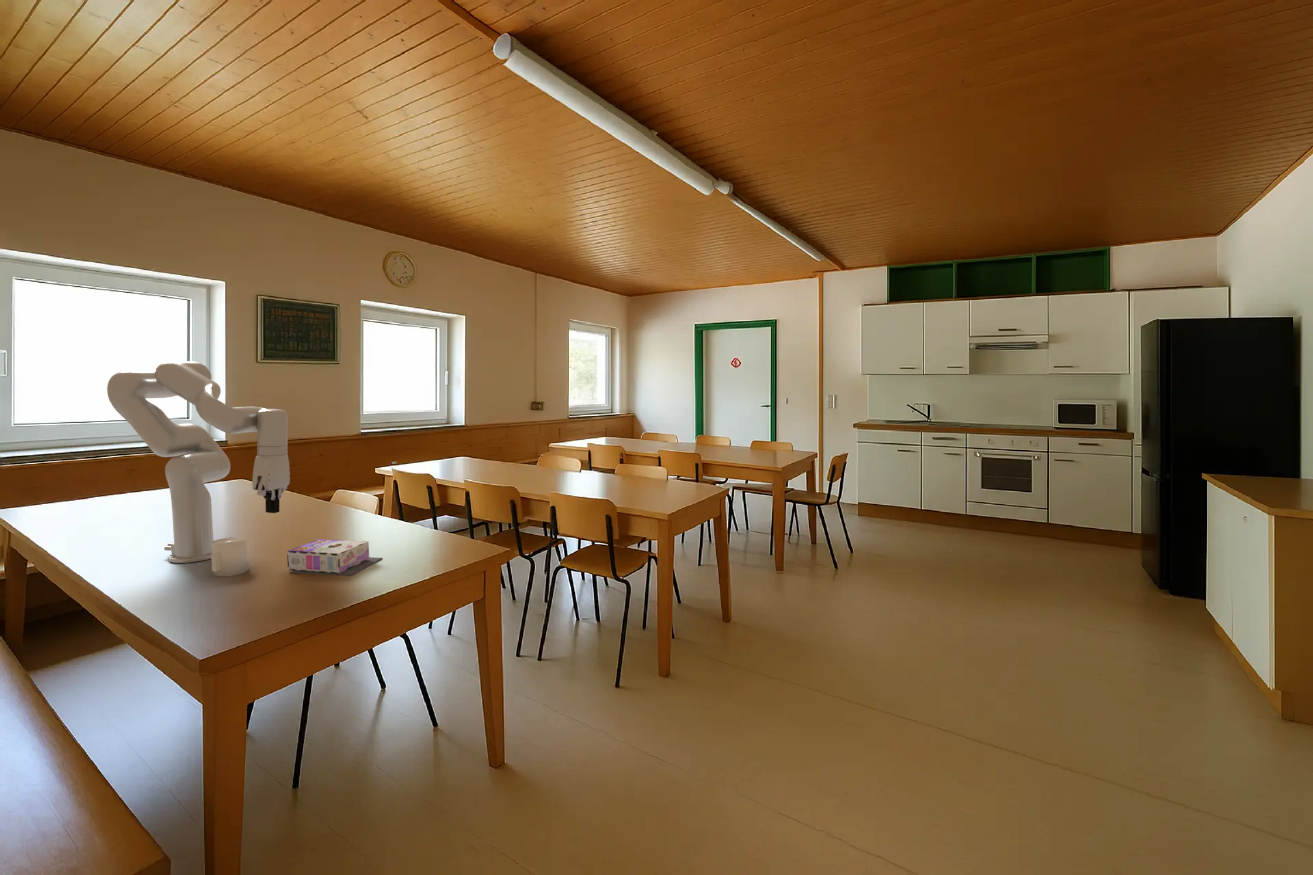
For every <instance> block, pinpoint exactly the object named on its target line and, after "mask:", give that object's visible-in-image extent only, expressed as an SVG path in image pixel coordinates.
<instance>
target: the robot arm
mask: <svg viewBox="0 0 1313 875" xmlns="http://www.w3.org/2000/svg"><path fill="white" fill-rule="evenodd" d="M106 388H107V389H106V392H107V397H108V401H109V402H110V405H111V406H112V407H113V409H114V410H115V411H116V412H117V413H118V414H119V415H120V416H121V417H122V418H123V419H124V420H125V421H126V423H128V424H129V425H130V426H131V427H132V428H133V430H134V431H135V432H136V434H137V435H138V436H139V437H140V438H141V440H143V442H144V443H145V444H146V446H147V447H148V448H149V449H150V450H151V451H152V453H154V454H155V455H156V456H157V457H162V458H169V457H170V458H171V457H172V458H171V459H170V460H168V462H167V463H166V464H165V467H164V474H165V477H166V482H167V485H168V487H169V488H168V489H169V492H170V493H169V494H170V502H171V513H172V515H171V516H172V528H173V529H172V530H173V531H172V532H173V542H168V543H167V544H166V545H165V546H164V548H163V549H164V551H169V552H170V551H171V554H170V555H169V556H168V561H169V562H170V563H174V564H185V563H186V564H187V563H189V564H190V563H195V562H204V561H207V560H211V553H213V548H212V542H213V541H215V540H214V526H213V524H214V523H213V522H214V521H213V509H212V505H213V504H212V497H211V493H210V491H209V490H208V488H207V487H206V485H205V484H206V483H209V482H215V481H219V480H221V479H224V478H225V477H227V475H229V473H230V471H231V461H230V459H229V458H228V456H227V454H226V453H225V452H224V450H223V449H222V447H221V446H220V445H219V444H218V443H217V442H216V440H214V438H213V437H212V436H211V435H210V433H209V432H208V431H207V430H206V429H205V428H203V427H201V426H200V425H197V424H194V423H175V422H173V421H172V420H171V419H170V418H169V417H168V415H166V413H165V412H164V411H163V410H162V409H160V407H158V406H157V405H155V404H153V403H151V401H148V400H147V399H164V398H165V399H166V398H173V397H177V396H178V397H180V398H181V399H184V400H185V401H186V402H188V403H190V404H191V405H193V406H195V410H196V412H197V414H198V415H199V417H200V418H201V420H203V422H205V423H207V424H208V425H210V426H212V427H214V428H215V429H217V430H219V431H221V432H223V433H225V434H229V435H235V434H244V433H254V432H255V433H256V432H257V437H256V438H257V439H256V440H257V443H256V444H257V451H256V452H257V454H256V456H255V458H254V464H253V469H252V482H251V484H252V487H251V488H252V489H253V490H254V491H257V492H256V495H257V496H262V497H263V500H265V513H266V514H268V513H269V514H277V513H279V512H280V499H281V498H282V494H283V492H285V491H286V490H288V486H289V485H290V481H291V470H290V459H289V455H288V448H289V447H288V444H289V443H288V440H289V438H288V436H289V435H288V433H289V432H288V430H289V427H288V425H289V424H288V422H289V421H288V420H289V419H288V418H289V416H288V412H287V411H286V410H284V409H281V408H279V409H278V408H265V407H261V406H235V407H232V406H230V405H228V404H226V403H224V402H222V401H221V400H219V397H220V396H221V392H222V390H221V386H220V385H219V384H218V383H217V382H215V381H214V380H212V374H211V371H210V369H209V368H208V367H207V366H206V365H204V364H203V363H201V362H197V361H187V360H185V361H184V360H180V361H179V360H170V361H169V360H168V361H165V362H162V363H160V364H159V365H158V366H157V367H156V368H155V370H153V369H149V370H147V369H126V370H123V371H119V372H117V373H114V374H113V375H112V376H111V377H110V378H109V380H108V383H107V386H106Z"/></svg>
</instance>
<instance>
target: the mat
mask: <svg viewBox="0 0 1313 875" xmlns="http://www.w3.org/2000/svg"><path fill="white" fill-rule="evenodd" d="M382 560H383V557H370V556H369V560H367V561H364V562H362V563H360V564H358V565H356V566H354V567H352V568H349V569H347V570H345V571H343V572H341V573H327V572H314V571H297V570H290V574H302V575H304V574H305V575H326V576H345V577H346V576H348V577H349V576H350V577H352V576H354V575H356V574H357V573H360V572H362V571H363V570H365V569H367V568H369V567H371V566H372V565H374V564H377V563H378V562H380V561H382Z"/></svg>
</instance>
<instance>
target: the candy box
mask: <svg viewBox="0 0 1313 875" xmlns="http://www.w3.org/2000/svg"><path fill="white" fill-rule="evenodd" d="M369 547H370V546H369V541H365V540H364V541H363V540H346V539H345V540H341V539H320V538H319V539H317V540H314V541H311V542H309V543H306V544H302V545H301V546H298V547H295V548H292V549H289V550H287V551H286V557H287V560H286V561H287V570H288V571H293V570H297V571H314V572H327V573H341V572H343V571H345V570H347V569H349V568H352V567H354V566H356V565H358V564H360V563H362V562H364V561H367V560H369V557H370V548H369Z"/></svg>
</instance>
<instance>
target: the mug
mask: <svg viewBox="0 0 1313 875" xmlns="http://www.w3.org/2000/svg"><path fill="white" fill-rule="evenodd" d="M212 548H213V553H211V559H210V560H211V572H213V575H214V576H216V577H231V576H237V575H240V574H245V573H247V572H248V571H249V555H248V554H249V552H248V538H247V537H246V536H245V537H244V536H230V537H224V538H219V539H216V540H214V541H213V542H212Z"/></svg>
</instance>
